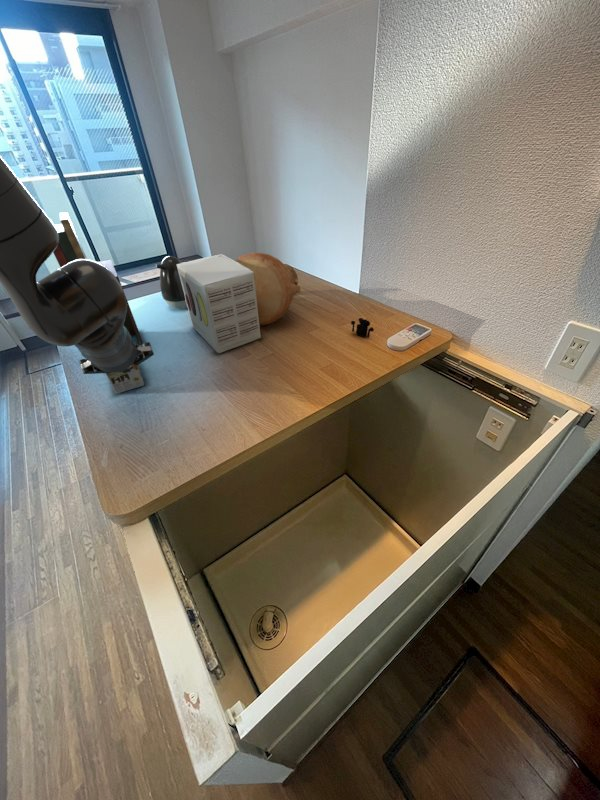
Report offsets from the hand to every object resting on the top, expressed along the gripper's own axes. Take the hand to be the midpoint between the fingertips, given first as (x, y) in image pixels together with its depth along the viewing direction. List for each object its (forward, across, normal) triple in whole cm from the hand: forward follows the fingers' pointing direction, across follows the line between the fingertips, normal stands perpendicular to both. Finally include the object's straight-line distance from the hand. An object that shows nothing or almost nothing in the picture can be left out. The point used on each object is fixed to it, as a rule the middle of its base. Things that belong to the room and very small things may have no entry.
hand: (125, 368), depth 69 cm
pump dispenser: (+31, -20, -23) cm, 44 cm away
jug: (+19, -44, -10) cm, 48 cm away
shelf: (+18, +1, -10) cm, 21 cm away
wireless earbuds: (0, -58, +9) cm, 59 cm away
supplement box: (+14, -26, -5) cm, 30 cm away
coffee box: (+8, +1, +1) cm, 8 cm away
